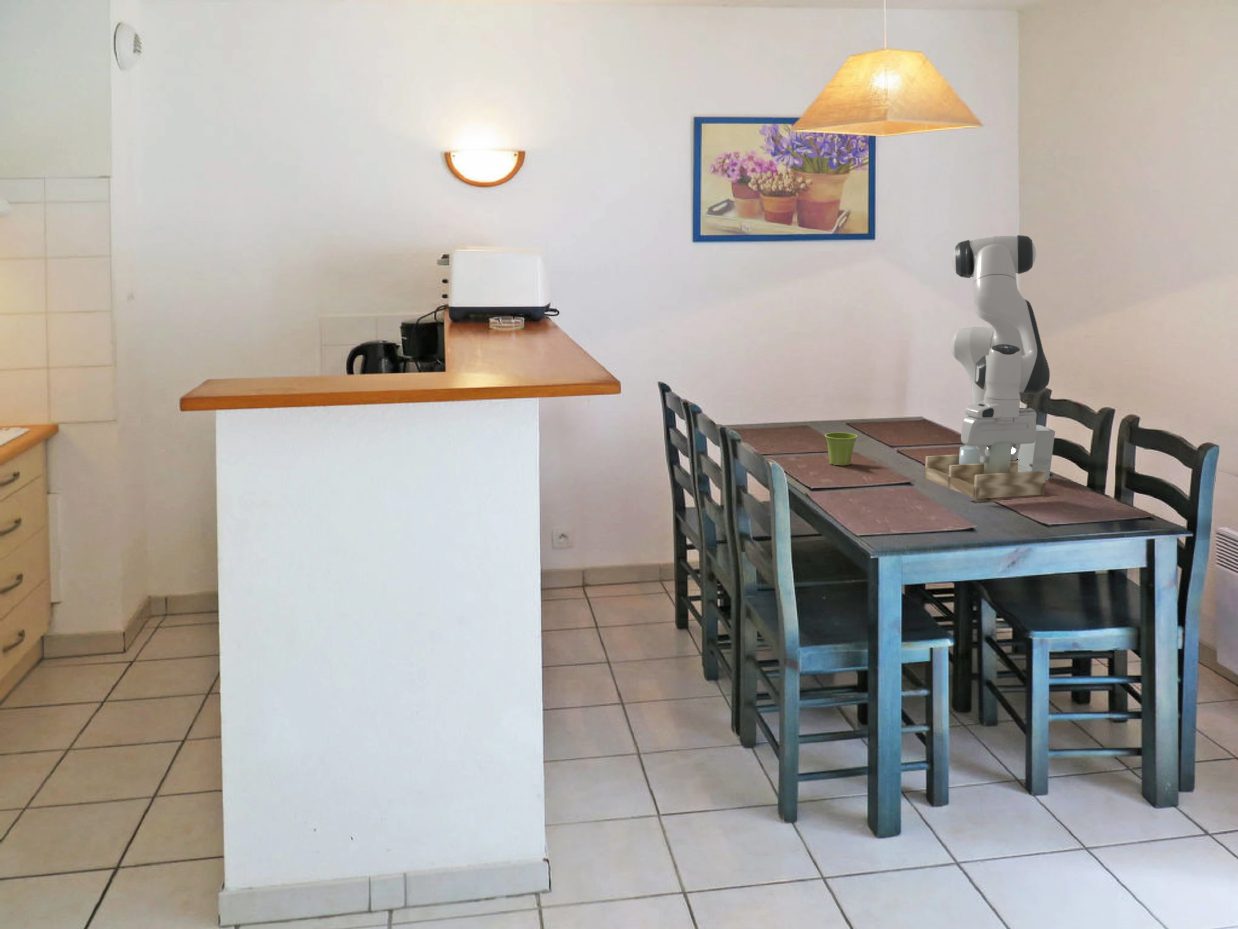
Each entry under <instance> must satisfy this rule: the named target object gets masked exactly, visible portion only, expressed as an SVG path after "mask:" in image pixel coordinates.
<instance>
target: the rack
mask: <svg viewBox="0 0 1238 929" xmlns="http://www.w3.org/2000/svg"><path fill="white" fill-rule="evenodd" d="M924 465H925V466H924V479H925V480H929V481H931V482H933V483H936V484H938V485H941V486H943V487H945V488H948V489H950V490H952V491H955V492H957V493H960V494H963V495H965V496H967V497H969V498H972V499H974V500H970V502H971V503H973V504H983V503H984V504H985V503H988V504H989V503H997V502H996V501H1001V500H1012V499H1020V498H1029V497H1030V496H1036V497H1044V498H1045V490H1046V481H1045V480H1046V471H1029V472H1018V462H1017V460H1015V461H1010V473H996V474H983V473H984V463H979V464H961V465H959V454H944V455H928V456H927V455H925V464H924ZM1026 496H1027V497H1026ZM1008 497H1009V498H1008ZM977 499H978V500H977ZM979 499H980V500H979Z"/></svg>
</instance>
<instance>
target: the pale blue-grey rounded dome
mask: <svg viewBox="0 0 1238 929" xmlns="http://www.w3.org/2000/svg"><path fill="white" fill-rule="evenodd" d="M976 448H977V446H965V445H963V446H960V447H959V454H958V455H959V465H961V464H979V463H982V462H980V455H979V453H978V451H977V449H976ZM984 452H985V450H984Z"/></svg>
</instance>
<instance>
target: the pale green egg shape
mask: <svg viewBox="0 0 1238 929" xmlns="http://www.w3.org/2000/svg"><path fill="white" fill-rule="evenodd" d="M1011 449H1012V442H1003V443H994V444H993V445H989V446H986V450H985V454H986V455H987V456H989V459H988V460H989V461H988V462H987V463H984V473H983V474H996V473H1010V462H1012V461H1011Z"/></svg>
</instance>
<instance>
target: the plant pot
mask: <svg viewBox="0 0 1238 929" xmlns="http://www.w3.org/2000/svg"><path fill="white" fill-rule="evenodd" d="M824 437H825V440H826V443H827V444H826V445H827V451H828V452H827V453H828V464H829V465H833V466H835V465H845V466H849V464H850V465H851V464H852V463H851V462H852V456H853V450H854V446H855V443H856V440H857V439H858V435H857V434H854V433H850V432H829V433H826V434H824Z"/></svg>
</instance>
